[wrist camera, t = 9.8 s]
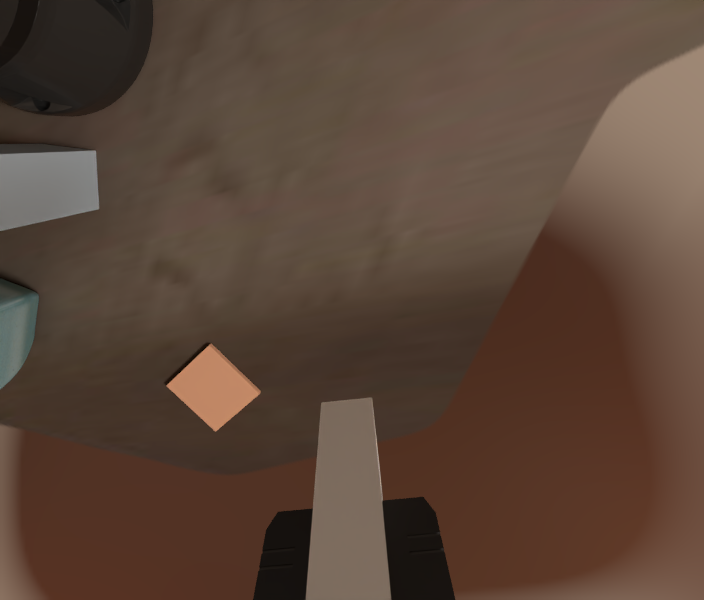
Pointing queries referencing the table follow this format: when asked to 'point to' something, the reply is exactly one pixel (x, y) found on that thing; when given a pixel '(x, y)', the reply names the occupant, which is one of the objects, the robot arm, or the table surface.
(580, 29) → the table surface
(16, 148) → the post slate
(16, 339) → the flower pot
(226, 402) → the tile
